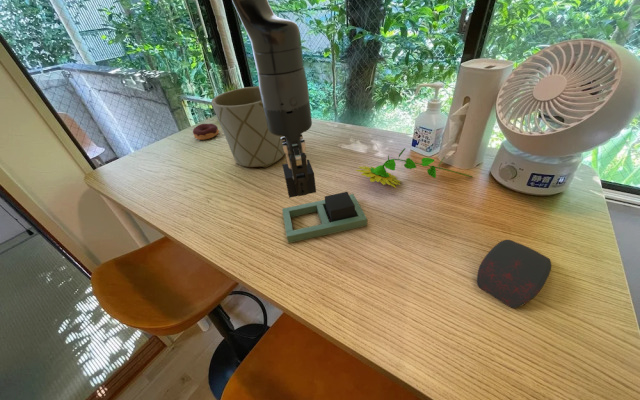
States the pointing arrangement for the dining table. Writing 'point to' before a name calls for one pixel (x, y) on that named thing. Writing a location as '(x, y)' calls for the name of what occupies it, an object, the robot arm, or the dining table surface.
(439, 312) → the dining table surface
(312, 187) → the black block
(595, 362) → the dining table surface
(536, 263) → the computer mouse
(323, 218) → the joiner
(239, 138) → the planter
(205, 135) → the donut
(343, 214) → the black near-cubic block
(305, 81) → the robot arm
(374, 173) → the flower
